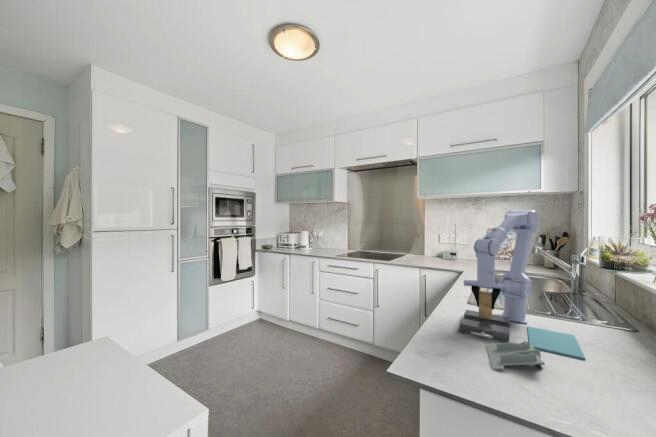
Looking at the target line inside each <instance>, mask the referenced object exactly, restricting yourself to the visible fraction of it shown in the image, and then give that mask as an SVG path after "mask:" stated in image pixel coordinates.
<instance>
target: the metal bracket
mask: <svg viewBox="0 0 656 437" xmlns="http://www.w3.org/2000/svg"><path fill="white" fill-rule="evenodd" d="M484 346H485V350H486V351H487V355H488V359H489V366H490V369H491V370H493V371H498V370H499V371H500V370H501V371H503V370H505V366H506V367H507V366H523V365H525V366H526V365H528V366H529V365H538V366H539V367H540V369H541V370H542V371H543V367H542V366H545V365H546V363H545V361H543V360H542V357H541V350H539V349H534V347H533V345H529V341H523V342H520V343H517V342H516V343H515V342H510V341H509V343H502V342H499V343H489V344H486V345H484Z"/></svg>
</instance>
